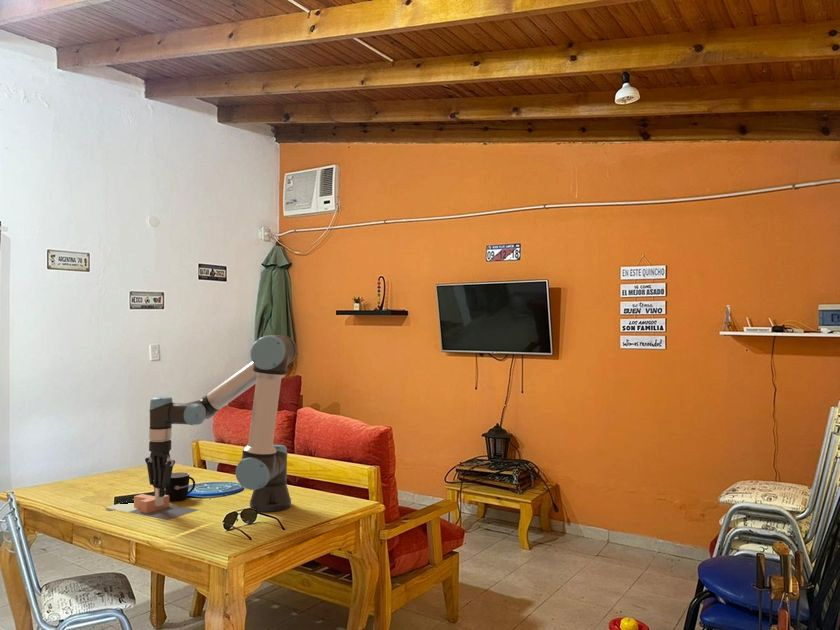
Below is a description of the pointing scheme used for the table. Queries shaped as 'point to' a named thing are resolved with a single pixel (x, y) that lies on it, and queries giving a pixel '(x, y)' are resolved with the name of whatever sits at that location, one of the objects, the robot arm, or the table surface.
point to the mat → (162, 513)
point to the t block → (149, 503)
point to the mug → (179, 486)
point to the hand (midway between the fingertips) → (159, 505)
